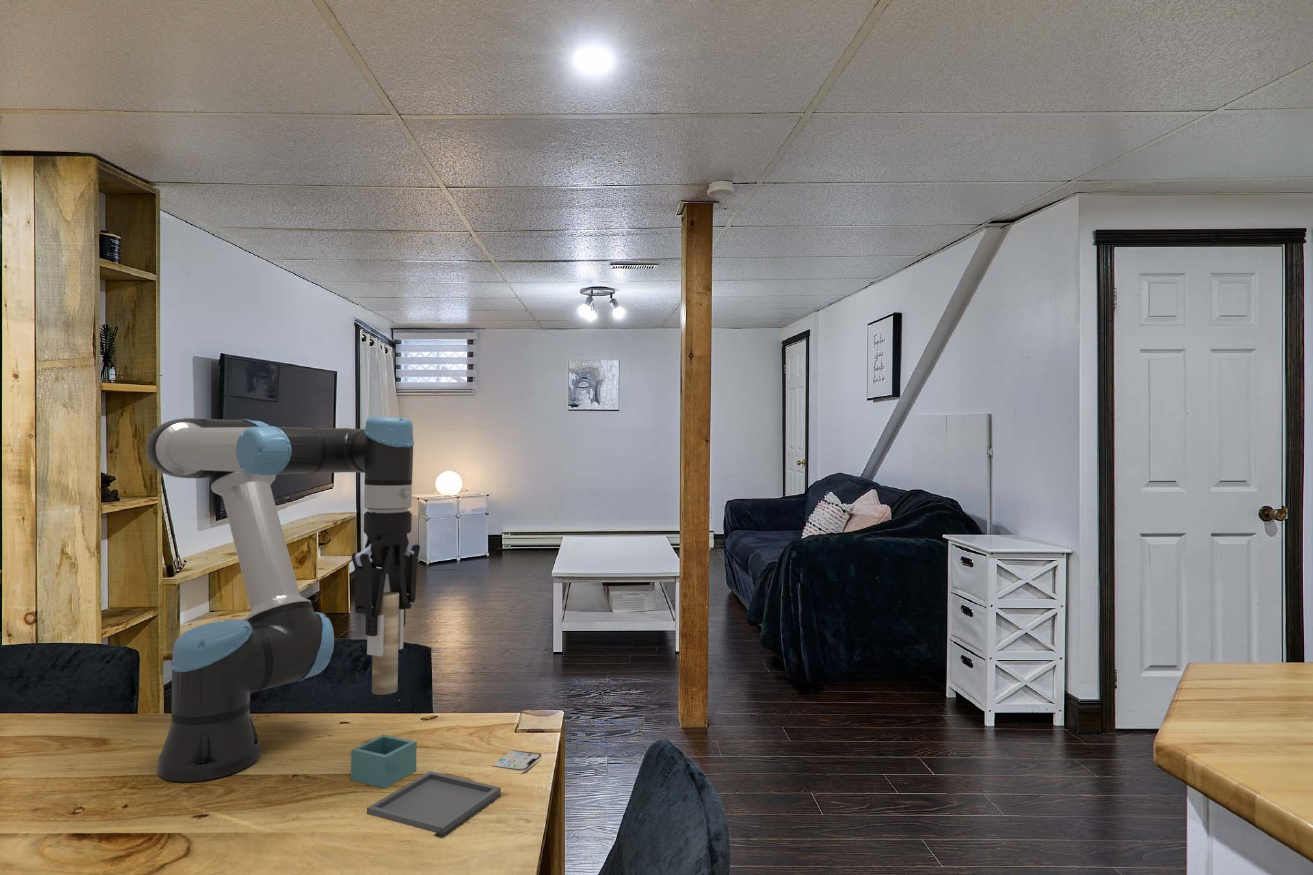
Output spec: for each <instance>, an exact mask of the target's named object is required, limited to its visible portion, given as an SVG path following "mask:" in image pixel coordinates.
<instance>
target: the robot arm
mask: <svg viewBox="0 0 1313 875" xmlns="http://www.w3.org/2000/svg"><path fill="white" fill-rule="evenodd" d="M413 429H414V428H413V422H412V420H410V419H409V418H407V417H389V416H370V417H368V418H367V419H366V420H365V427H364V428H350V427H344V428H343V427H337V428H335V427H332V428H331V427H296V426H295V427H292V426H291V427H290V426H274V425H273V426H272V425H269V424H267V423H265V422H263V421H260V420H252V419H247V418H239V419H220V418H219V419H218V418H217V419H216V418H193V417H192V418H190V417H189V418H188V417H184V418H176V419H172V420H169V421H166V422H164V423H162V424H160V425H158V426H156V428H154V429H153V430H152V431H151V433H150V434H149V436H148V437H147V439H146V443H145V454H146V457H147V460H148V461H149V463H150V465H151V466H153V468H154V469H156V471H158V472H160V473H162V474H165V475H167V476H169V477H174V478H180V479H208V481H209V484H210V488H211V491H212V493H214V494H217V495H219V496H220V497H222V500H223V503H224V504H223V505H224V509H225V512H226V516H227V520H228V523H229V527H230V531H231V535H232V539H233V544H234V547H235V548H234V549H235V552H236V555H237V559H238V564H239V567H240V572H241V574H242V575H241V576H242V579H243V582H244V587H245V591H246V596H247V598H248V602H249V607H250V612H249V614H247V616H246V618H245V620H244V619H227V620H224V621H214V622H209V623H205V624H202V625H198V626H196V627H193V628H191V629H189V630H187V631H185V632H184V633H182V634H181V635H180V636H179V637H178V638H177V639H176V640H175V641H174V644H173V651H172V660H171V663H170V668H171V721H170V722H171V723H170V724H171V725H170V727H169V730H168V732H167V736H166V738H165V741H164V744H163V747H162V750H161V753H160V754H159V757H158V761H157V762H158V763H157V764H158V765H157V774H158V775H159V777H160V778H161V779H164V780H166V781H171V782H178V783H179V782H180V783H182V782H183V783H187V782H188V783H191V782H203V781H207V780H208V781H209V780H215V779H218V778H222V777H227V776H229V775H234V774H236V773H238V772H241V771H243V770H245V769H247V768H249V767H250V766H252V765H254V764H255V763H256V762H257V761H258V760H259V759H260V756H261V742H260V741H261V740H260V739H259V737H258V733H257V730H256V727H255V725H254V721H253V718H252V716H251V713H250V712H251V711H250V705H251V704H250V700H251V697H250V696H251V694H253V693H255V692H260V691H263V690H268V689H272V688H275V687H278V686H282V685H287V684H291V683H294V682H301V681H304V680H305V679H308V678H311V677H314V676H317V675H318V674H320V673H322V672H323V671H324V670H325V669H326V668H327V666H328V665H329V662H330V661H331V659H332V654H333V652H334V648H335V633H334V628H333V624H332V622H331V619H330V618H329V617H327V615H326V614H325V613H322V612H318V611H316V612H315V611H314V608H313V604H312V600H310V599H308V598H305V597H304V596H302V595H301V593H300V590H299V586H298V583H297V579H296V575H295V571H294V568H293V564H292V561H291V557H290V554H289V549H288V546H287V542H286V538H285V535H284V531H283V528H282V524H281V520H280V517H279V514H278V509H277V506H276V502H275V498H274V494H273V490H272V487H271V485H272V484H273V483H274V481H275V480H276V477H277V475H290V474H291V475H293V474H294V475H295V474H320V473H321V474H329V473H333V474H334V473H337V474H338V473H359V474H360V473H364V480H363V482H364V487H363V488H364V490H363V508H364V509H365V510H366V511H365V513H363V533H364V534H365V536H366V537H367V539H366V543H365V544H364V549H363V550H361V551H360V552H353V553H352V554H351V560H352V564H353V568H354V611H355V613H356V614H360V615H362V616H363V615H364V616H365V626H364V627H365V632H364V633H365V635H366V636H367V640H366V641H367V642H366V644H367V647H366V654H367V655H369V656H373V655H374V656H383V641H384V615H379V614H380V610H381V604H382V598H383V592H385V591H384V590H385V585H386V577H387V575H388V584H389V592H398V593H399V630H398V650H402V649H404V637H405V636H404V631H405V629H404V627H405V626H406V614H407V613H406V612H407V610H410V609H411V608H412V603H414V602H416V596H417V595H416V591H417V571H418V570H417V569H418V556H419V554H420V550H421V547H420V544H415V543H414V544H412V543H410V541H409V538H408V534H410V533H411V532H412V527H413V526H412V522H413V518H412V517H413V513H412V512H411V511H410V510H408V509H410V508H412V504H413V503H412V502H413V501H412V499H413V498H412V497H413V495H412V494H413V492H412V491H413V489H412V488H413V487H412V484H413V470H414V469H413V467H414V466H413V462H414V445H415V441H414V432H413V431H414V430H413ZM406 609H407V610H406Z"/></svg>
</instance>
